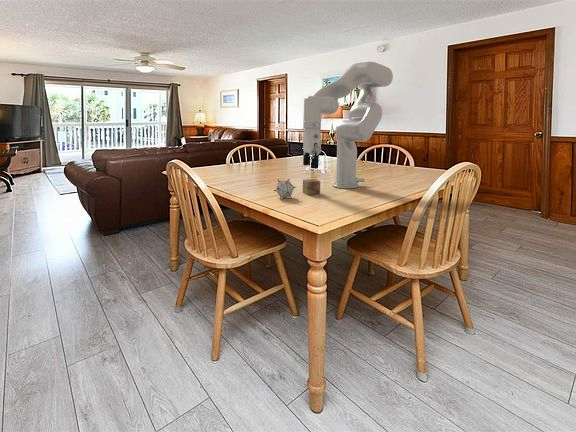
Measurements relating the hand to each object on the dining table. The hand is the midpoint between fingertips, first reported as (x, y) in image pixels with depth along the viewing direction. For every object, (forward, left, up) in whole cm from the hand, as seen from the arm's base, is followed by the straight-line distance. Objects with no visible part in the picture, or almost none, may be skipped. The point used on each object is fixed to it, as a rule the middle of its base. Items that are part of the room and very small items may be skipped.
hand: (310, 166), depth 158 cm
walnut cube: (-1, 0, -12) cm, 12 cm away
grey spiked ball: (+13, +5, -13) cm, 19 cm away
